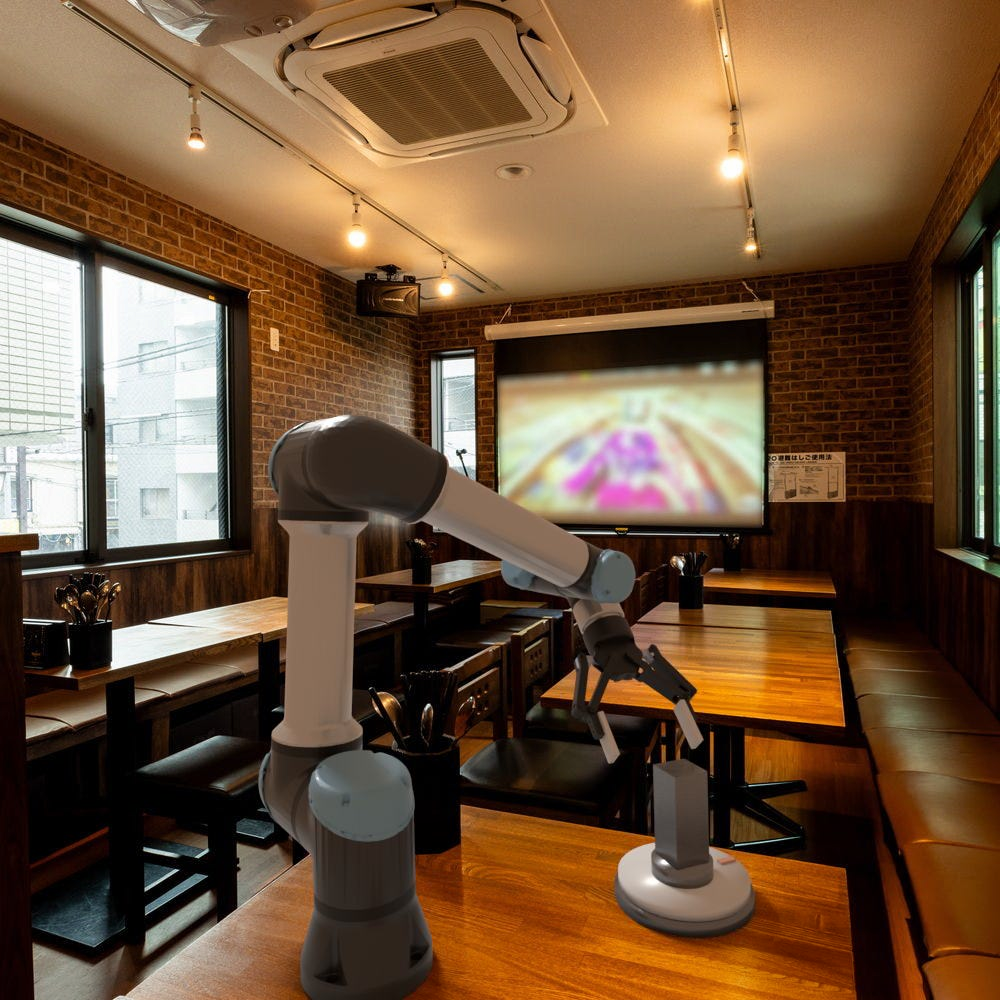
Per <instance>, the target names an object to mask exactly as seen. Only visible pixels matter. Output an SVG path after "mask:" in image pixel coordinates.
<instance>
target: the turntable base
mask: <svg viewBox="0 0 1000 1000" xmlns="http://www.w3.org/2000/svg"><path fill="white" fill-rule="evenodd" d="M750 885H751V895H750V899H749V902H748V903H747V905H746V906H745V907H744V908H743V909H742V910H741V911H739V912H738V913H736V914H734V915H732V916H729V917H726V918H723V919H719V920H713V921H703V922H689V921H680V920H674V919H669V918H665V917H661V916H658V915H655V914H652V913H650V912H648V911H645V910H644V909H642V908H640V907H638V906H637V905H635V904H634V903H632V902H631V901H630V900H629V899H628V898H627V897H626V896H625V895H624V894H623V892H622V891H621V889H620V886H619V881H618V871H616V874H615V875H614V895H615V900H616V902H617V904H618V906H619V908H620V909H621V910H622V911H623V913H625V914H626V916H628V917H629V918H630V919H632V920H633V921H635V922H636V923H638V924H640V925H641V926H643V927H645V928H648V929H650V930H652V931H655V932H658V933H661V934H665V935H668V936H673V937H679V938H687V939H705V938H709V939H710V938H715V937H721V936H726V935H729V934H731V933H735V932H737V931H739V930H741V929H742V928H743V927H745V926H746V925H747V924H748V923H749V922H750V921H752V918H753V917H754V914H755V911H756V909H755V908H756V902H755V901H756V898H755V897H756V895H755V894H756V893H755V888H754V887H753V885H752V882H750Z"/></svg>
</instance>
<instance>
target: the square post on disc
mask: <svg viewBox="0 0 1000 1000" xmlns="http://www.w3.org/2000/svg"><path fill="white" fill-rule="evenodd" d="M652 771H653V773H652V777H653V782H652V783H653V811H654V812H653V819H654V843H655V849H654V850H653V851H652V853H651V868H652V874H653V876H654V877H655V878H656V879H657V880H658V881H660V882H661V883H663V884H665V885H668V886H671V887H675V888H681V889H695V888H700V887H704V886H706V885H708V884H709V883H710V882H711V881H712V880H713V877H714V871H713V858H712V856H711V855H710V854H709V847H710V840H709V839H710V838H709V837H710V836H709V835H710V834H709V831H710V830H709V827H710V826H709V792H708V791H709V789H708V787H709V785H708V784H709V783H708V771H707V770H706V769H705V768H702V767H700V766H698V765H697V764H695V763H694V762H691V761H690V760H688V759H686V758H681V759H676V760H675V759H674V760H670V761H666V762H660V763H659V762H658V763H653V764H652Z"/></svg>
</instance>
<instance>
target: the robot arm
mask: <svg viewBox="0 0 1000 1000" xmlns="http://www.w3.org/2000/svg"><path fill="white" fill-rule="evenodd" d="M267 463H268V464H267V472H268V473H267V474H268V475H267V476H268V480H269V483H270V485H271V487H272V489H273V491H274V493H275V495H276V496H277V497H278V500H277V501H278V504H277V505H278V507H277V523H278V524H279V525H280V526H281V527H282V528H283V529H284V530H285V531H286V532H287V534H288V535H289V546H288V547H289V549H288V551H289V552H288V553H289V554H288V555H289V556H288V583H287V584H288V586H287V612H286V613H287V615H286V616H287V618H286V647H285V648H286V651H285V683H284V684H285V686H284V687H285V688H284V712H283V714H284V717H283V720H281V722H280V723H279V724H278V725H277V726H276V727H275V728H274V729H273V730H272V731H271V740H270V741H271V745H270V751H268V753H266V755H265V756H264V758H263V760H262V762H261V765H260V768H259V772H258V791H259V796H260V799H261V801H262V804H263V805H264V807H265V809H266V811H267V813H268V814H269V816H270V817H271V819H272V820H273V821H274V822H275V823H276V824H278V825H279V826H280V827H281V828H282V829H284V831H286V832H287V833H288V834H289V835H290V836H291V837H292V838H293V839H294V840H295V841H297V843H299V844H300V845H301V847H303V848H304V849H305V851H307V852H308V853H309V854H310V856H311V860H312V879H313V880H312V884H313V885H312V886H313V911H312V914H311V918H310V921H309V925H308V927H307V931H306V934H305V935H306V936H305V939H304V942H303V946H302V949H301V953H300V960H299V961H300V962H299V963H300V964H299V965H300V983H301V986H302V988H303V991H304V992H305V993H306V995H307V996H308V997H309V998H310V999H311V1000H402V999H403V998H405V997H407V996H409V995H411V993H413V992H415V991H416V990H417V989H418V988H419V987H420V986H421V985H422V984H423V983H424V982H425V981H426V979H427V977H429V975H430V972H431V970H432V967H433V963H434V962H433V961H434V954H433V951H434V949H433V948H434V947H433V939H432V938H433V937H432V933H431V931H430V928H429V925H428V923H427V920H426V917H425V915H424V912H423V909H422V907H421V906H422V905H421V904H420V901H419V898H418V896H417V890H416V889H417V888H416V857H415V856H416V854H415V853H416V852H415V823H414V822H415V821H414V819H415V818H414V817H415V816H414V814H415V812H414V811H415V807H416V806H415V796H414V790H413V785H412V777H411V774H410V772H409V769H408V768H407V766H406V765H405V764H404V763H403V762H402V761H401V760H399V759H398V758H397V757H395V756H393V755H389V754H387V753H386V752H385V753H384V752H381V751H379V752H376V753H374V752H373V751H372V750H366V749H363V734H364V733H363V727H362V725H361V724H360V723H359V722H358V721H356V719H354V717H353V715H352V712H353V711H352V704H353V674H354V673H353V669H354V667H353V666H354V642H355V641H354V634H355V633H354V631H355V608H356V607H355V605H356V603H355V600H356V571H357V570H356V569H357V539H358V538H357V537H358V535H359V534H360V533H361V532H362V531H363V530H364V529H365V528H366V527H367V526H368V525H369V523H370V522H369V517H370V512H373V513H379V514H383V515H388V516H391V517H393V518H396V519H398V520H400V521H402V522H404V523H407V524H409V525H414V524H417V523H420V522H424V523H426V524H428V525H430V526H432V527H434V528H436V529H438V530H441V531H442V532H443V533H444V532H445V533H447V534H449V535H450V536H453V537H455V538H457V539H460V540H461V541H463V542H465V543H468V544H470V545H472V546H474V547H476V548H478V549H480V550H482V551H484V552H487V553H489V554H491V555H493V556H495V557H497V558H499V559H501V564H500V571H501V576H502V579H503V580H504V581H505V583H506V584H507V585H509V586H511V587H514V588H518V589H520V591H522V590H523V591H524V590H525V591H532V592H536V593H541V594H545V595H546V594H547V595H552V596H555V597H560V598H565V599H566V600H567V602H568V603H569V606H570V609H571V611H572V614H573V616H574V619H575V621H576V623H577V627H578V628H579V631H580V633H581V634H582V640H583V642H584V644H585V647H586V649H587V651H588V652H587V653H588V654H589V655H586V653H585V652H583V651H580V652H579V653H578V655H577V657H576V658H575V660H574V661H573V665H574V669H575V672H576V673H575V674H576V676H575V683H574V689H573V698H572V706H571V716H572V718H574V719H577V718H582V721H583V723H584V724H588V726H589V730H590V732H591V735H592V738H593V739H594V740H595V741H597V740H599V742H600V744H601V748H602V750H603V752H604V755H605V757H606V760H607V763H608V764H613V763H615V761H616V760H617V759H618V757H619V756H620V755H621V753H620V751H619V748H618V745H617V743H616V740H615V737H614V735H613V732H612V730H611V728H610V725H609V722H608V720H607V716H606V715H605V712H604V710H601V711H598V709H599V707H600V705H601V702H602V698H603V697H604V695H605V692H606V690H607V686H608V685H609V682H610V681H613V683H618V682H621V681H632V680H633V679H634V680H635V681H637V682H639V683H643V684H645V685H647V686H648V687H649V688H651V689H652V690H654V691H655V692H656V693H658V694H659V695H661V696H662V697H663V698H664V699H667V700H668V701H670V702H671V703H672V704H673V705H675V706H673V709H672V711H673V712H674V714H675V716H676V718H677V721H678V723H679V725H680V728H681V729H682V732H683V734H684V737H685V738H686V740H687V743H688V745H689V747H690V749H691V750H694V749H697V747H699V745H700V744H701V743H702V742H703V741H704V738H703V735H702V734H701V731H700V729H699V727H698V725H697V723H696V722H697V720H698V717H697V714H696V712H695V710H694V707H693V706H692V704H691V700H692V699H693V698H694V697H695V696H696V694H697V693H698V690H697V688H696V687H695V686H694V685H693V684H692V683H691V682H690V681H689V680H688V679H687V678H686V677H685V676H684V675H683V674H682V673H680V671H679V670H678V669H676V667H675V666H673V665H672V664H671V662H669V661H668V659H666V658H665V657H664V656H663V654H662V653H661V651H660V650H659V648H658V647H657V645H655V644H653V643H652V644H650V645H649V647H648V648H644V649H640V647H638V646H637V643H636V640H635V635H634V634H633V631H632V628H631V627H630V625H629V622H628V620H627V618H625V612H624V610H623V609H622V606H621V604H620V603H622V602H624V601H625V600H626V599H627V598H629V596H630V595H631V593H632V591H633V589H634V586H635V583H636V570H635V566H634V563H633V561H632V559H631V558H630V557H629V556H628V555H627V554H626V553H624V552H622V551H617V550H613V549H610V548H608V549H602V548H600V547H597V546H596V545H593V544H592V543H589V542H587V541H586V540H583V539H581V538H580V537H577V536H576V535H574V534H572V533H570V532H569V531H567V530H565V529H563V528H562V527H559V526H558V525H556V524H554V523H552V522H550V521H548V520H546V519H545V518H543V517H542V516H540V515H538V514H536V513H534V512H532V511H530V510H528V509H527V508H526V507H523V506H521V505H519V504H518V503H516V502H514V501H512V500H510V499H508V498H507V497H505V496H503V495H502V494H499V493H497V492H496V491H494V490H492V489H490V488H489V487H487V486H485V485H483V484H481V483H479V482H478V481H476V480H474V479H473V478H470V477H469V476H466V475H464V474H463V473H462V472H460V471H458V470H456V469H454V468H452V467H450V463H449V459H448V457H447V456H446V454H444V453H443V452H440V451H439V450H437V449H435V448H434V447H431V446H430V445H428V444H426V443H425V442H422V441H420V440H419V439H417V438H415V437H413V436H412V435H410V434H409V433H407V432H404V431H402V430H400V429H399V428H397V427H394V426H392V425H390V424H388V423H387V422H385V421H382V420H379V419H376V418H375V417H371V416H367V415H363V414H358V413H357V414H356V413H353V414H351V413H350V414H343V415H337V416H335V417H330V418H323V419H318V420H317V419H316V420H315V419H313V420H309V421H305V422H303V423H299V424H298V425H297V426H294V427H293V428H291V429H289V430H287V431H286V432H285V433H284V434H282V436H281V437H279V438H278V440H277V441H276V442H275V444H274V445H273V447H272V450H271V452H270V454H269V457H268V462H267ZM591 666H592V667H593V668H594V669H595V670H597V671H599V672H600V675H599V678H598V680H597V682H596V684H595V688H594V690H593V693H592V695H591V697H590V700H589V702H588V705H586V696H587V689H588V679H589V671H590V669H591ZM640 669H641V670H642V671H641V672H640ZM597 711H598V712H597Z"/></svg>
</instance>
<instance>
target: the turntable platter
mask: <svg viewBox="0 0 1000 1000" xmlns="http://www.w3.org/2000/svg"><path fill="white" fill-rule="evenodd" d="M654 849H655V842H652V843H647V844H643V845H640V846H638V847H635V848H633V849H632V850H631V849H630V850H629V851H628V852H627V853H625V854H624V855H623V856H622V858H621V859H620V860H619V863H618V867H617V872H618V881H619V886H620V889H621V891H622V892H623V894H624V895H625V896H626V897H627V898H628V899H629V900H630V901H631V902H632V903H634V904H635V905H637V906H638V907H640V908H642V909H644V910H645V911H648V912H650V913H652V914H655V915H658V916H661V917H665V918H669V919H674V920H680V921H689V922H703V921H713V920H719V919H723V918H726V917H729V916H732V915H734V914H736V913H738V912H739V911H741V910H742V909H743V908H744V907H745V906H746V905H747V903H748V902H749V899H750V895H751V885H750V883H751V876H750V874H749V871H748V870H747V869H746V868H745V866H744V865H743V864H742V863H741V862H740V861H739V860H737V859H736V858H735V857H734V856H732V855H729V854H727V853H725V852H723V851H721V850H718V849H717V848H714V847H710V846H709V854H710V855H711V856H712V858H713V871H714V877H713V880H712V881H711V882H710V883H709V884H708V885H706V886H704V887H700V888H695V889H681V888H675V887H671V886H668V885H665V884H663V883H661V882H660V881H658V880H657V879H656V878H655V877H654V876H653V874H652V868H651V853H652V851H653V850H654Z"/></svg>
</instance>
